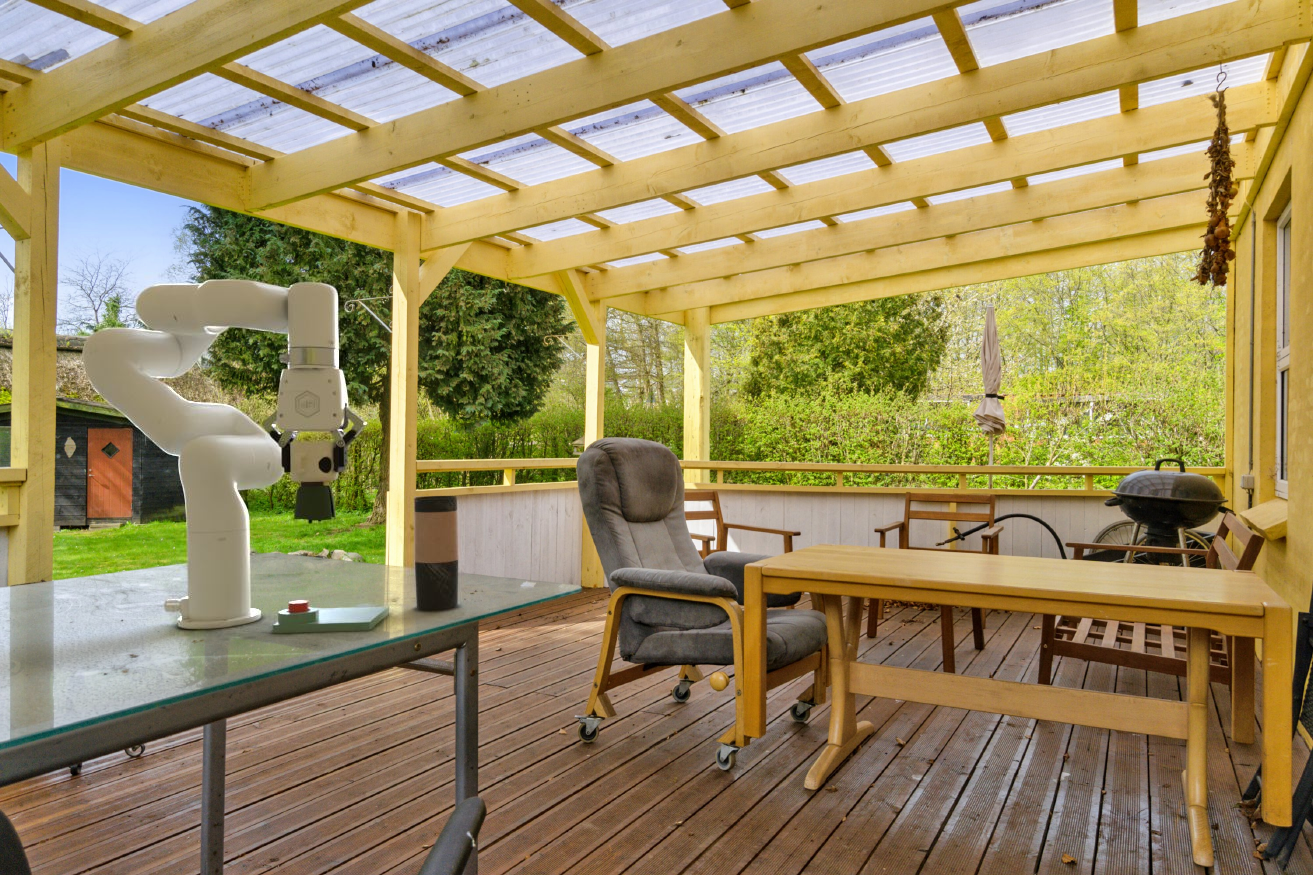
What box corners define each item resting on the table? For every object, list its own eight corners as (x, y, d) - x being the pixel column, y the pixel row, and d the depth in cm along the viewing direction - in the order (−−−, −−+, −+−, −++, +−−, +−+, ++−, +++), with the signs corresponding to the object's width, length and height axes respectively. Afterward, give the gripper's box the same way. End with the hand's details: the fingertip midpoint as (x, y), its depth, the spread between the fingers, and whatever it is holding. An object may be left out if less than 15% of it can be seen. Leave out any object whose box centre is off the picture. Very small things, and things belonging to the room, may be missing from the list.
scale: (272, 633, 136) (272, 614, 136) (300, 616, 149) (300, 599, 149) (369, 630, 137) (369, 611, 137) (389, 614, 150) (388, 597, 150)
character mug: (318, 526, 131) (317, 441, 131) (274, 526, 132) (273, 442, 132) (352, 519, 142) (351, 441, 142) (312, 519, 143) (311, 441, 143)
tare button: (285, 614, 137) (285, 603, 137) (292, 610, 140) (292, 600, 140) (305, 614, 138) (304, 603, 138) (311, 610, 141) (311, 599, 141)
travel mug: (464, 603, 158) (463, 495, 158) (450, 612, 151) (449, 498, 151) (424, 603, 159) (423, 495, 159) (408, 612, 152) (407, 498, 152)
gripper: (248, 359, 133) (249, 473, 133) (361, 358, 134) (362, 472, 134) (268, 363, 141) (269, 471, 141) (375, 363, 141) (376, 470, 141)
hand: (314, 471), depth 137 cm, fingers closed on character mug, 7 cm apart
